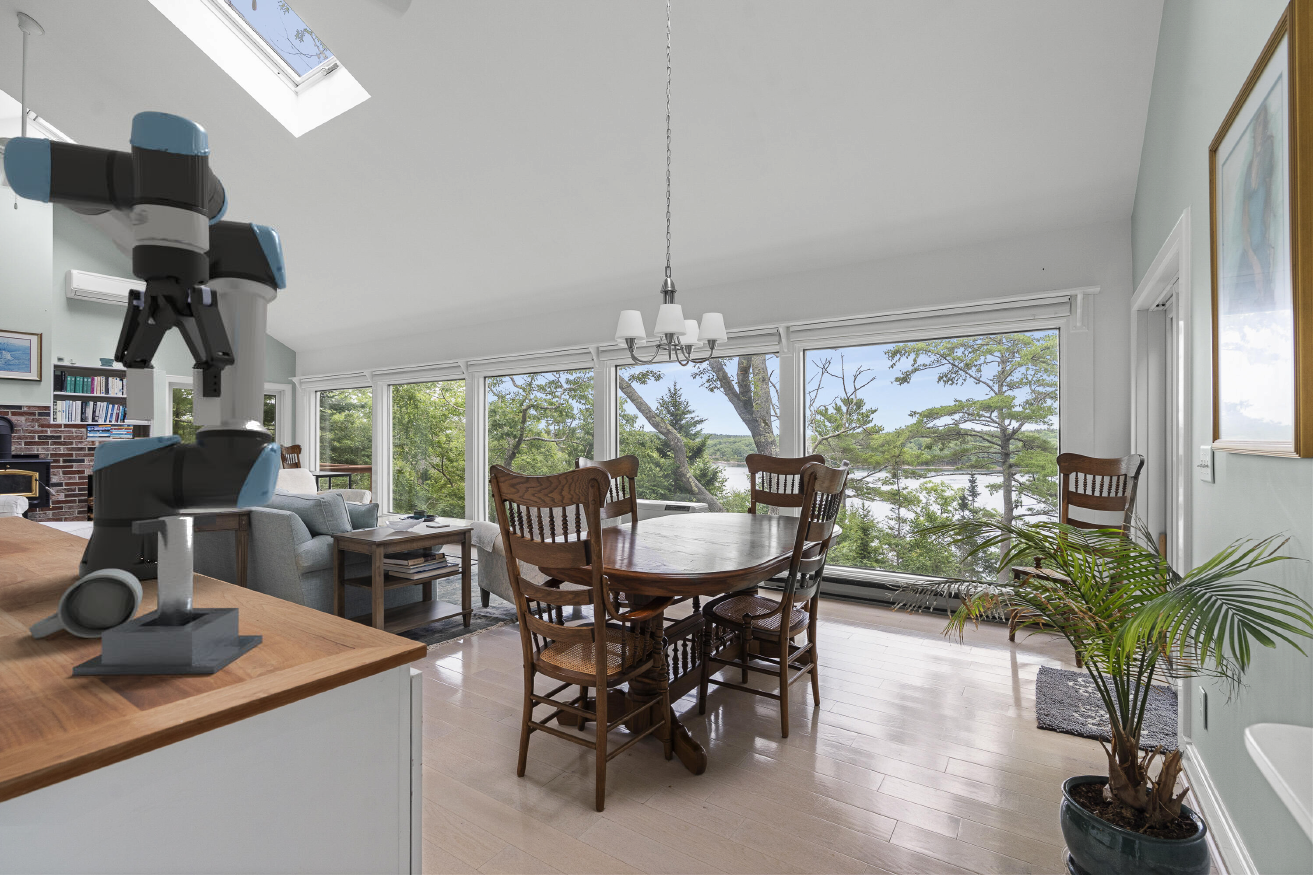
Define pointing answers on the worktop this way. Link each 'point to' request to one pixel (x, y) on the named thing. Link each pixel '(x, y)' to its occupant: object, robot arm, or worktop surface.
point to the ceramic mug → (94, 605)
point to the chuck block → (171, 645)
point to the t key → (174, 564)
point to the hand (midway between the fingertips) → (172, 422)
